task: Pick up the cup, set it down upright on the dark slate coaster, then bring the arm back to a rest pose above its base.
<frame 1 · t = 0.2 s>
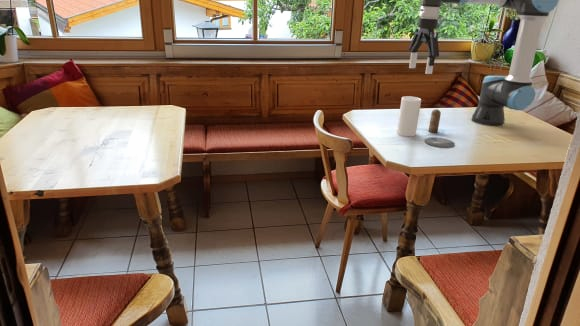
hand: (420, 70, 181), 28 cm above the table, fingers open, 13 cm apart
coaster: (439, 143, 181), on the table
pepper mill: (432, 131, 196), on the table
cup: (406, 133, 191), on the table
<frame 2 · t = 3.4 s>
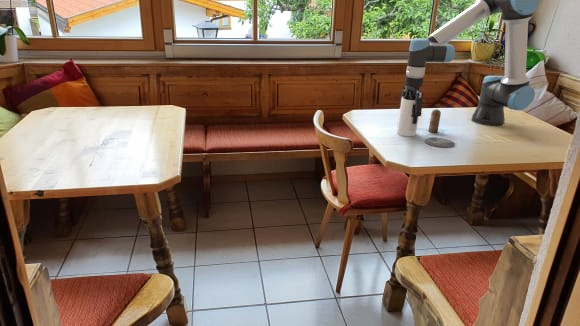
hand: (407, 127, 190), 3 cm above the table, fingers closed on cup, 8 cm apart
cup: (406, 133, 191), on the table, touching gripper
everything else where it was.
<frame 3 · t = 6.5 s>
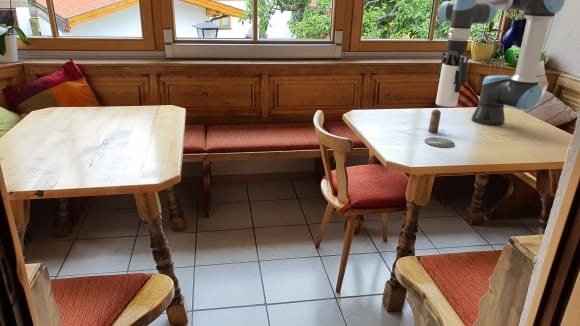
hand: (447, 97, 173), 20 cm above the table, fingers closed on cup, 8 cm apart
cup: (446, 104, 174), point 17 cm above the table, touching gripper
everything else where it was.
when the fingers open (5 cm above the table, at t = 9.9 s): cup drops 1 cm, resting on coaster.
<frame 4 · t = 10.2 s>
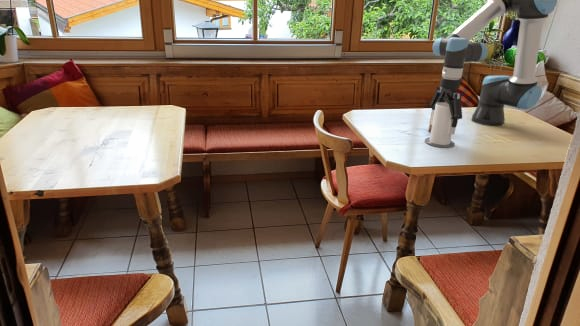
hand: (441, 129, 178), 6 cm above the table, fingers open, 12 cm apart
cup: (439, 142, 181), resting on coaster
everything else where it was.
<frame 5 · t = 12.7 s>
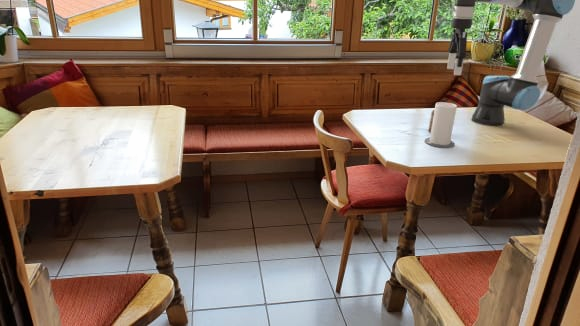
hand: (453, 71, 178), 29 cm above the table, fingers open, 13 cm apart
nothing on the table moved.
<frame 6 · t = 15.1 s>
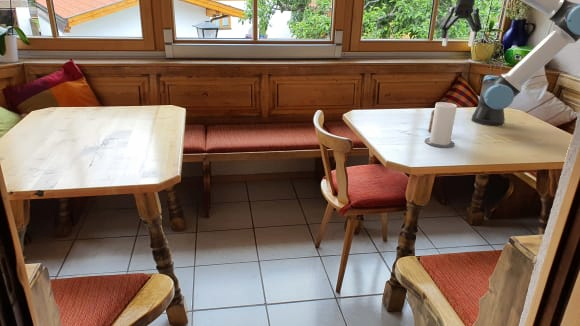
hand: (457, 46, 196), 37 cm above the table, fingers open, 13 cm apart
nothing on the table moved.
at the end: cup 0.0 cm from the coaster (horizontally); cup tilted 0°; the gripper is holding nothing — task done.
